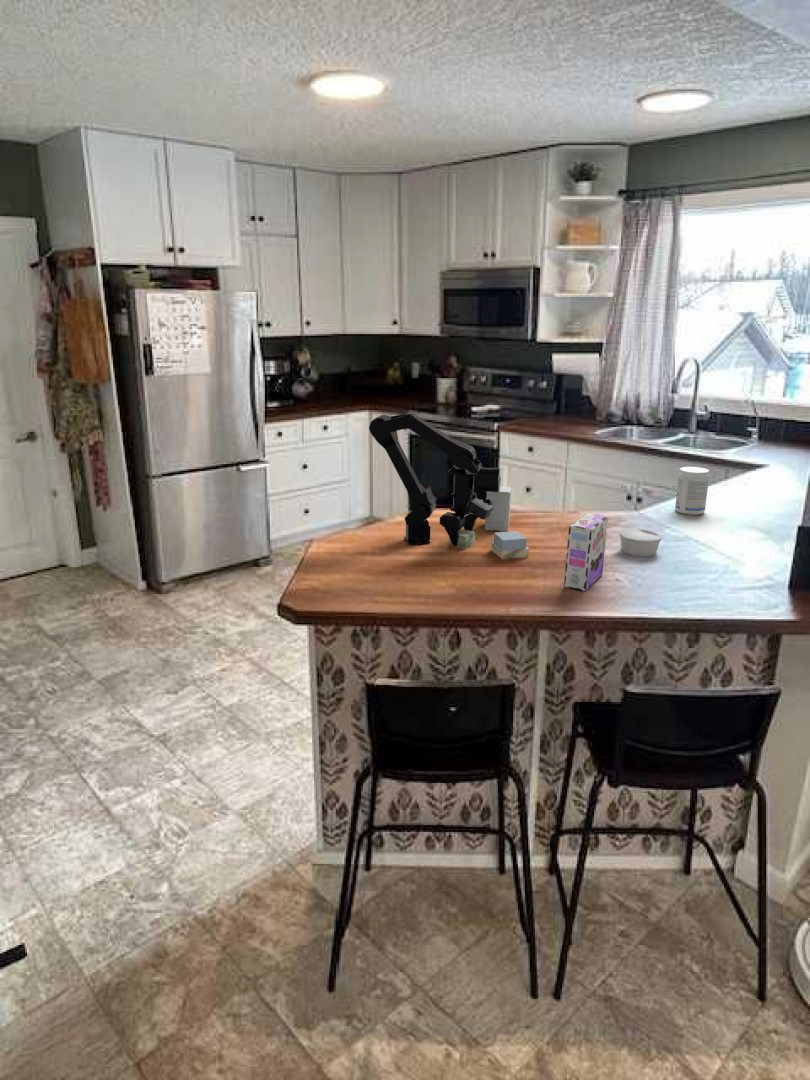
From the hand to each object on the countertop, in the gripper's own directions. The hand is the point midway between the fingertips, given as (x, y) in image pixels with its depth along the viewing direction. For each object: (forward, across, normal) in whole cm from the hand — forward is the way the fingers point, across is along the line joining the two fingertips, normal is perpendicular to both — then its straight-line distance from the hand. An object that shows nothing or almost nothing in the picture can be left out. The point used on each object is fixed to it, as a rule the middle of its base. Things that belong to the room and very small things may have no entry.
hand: (461, 541), depth 215 cm
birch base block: (+2, 0, -15) cm, 15 cm away
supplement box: (+1, +21, -2) cm, 21 cm away
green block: (+1, 0, 0) cm, 1 cm away
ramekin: (+1, +20, -46) cm, 51 cm away
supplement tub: (+1, +71, -52) cm, 88 cm away
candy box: (+1, -10, -39) cm, 41 cm away
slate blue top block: (-2, 0, -15) cm, 15 cm away
